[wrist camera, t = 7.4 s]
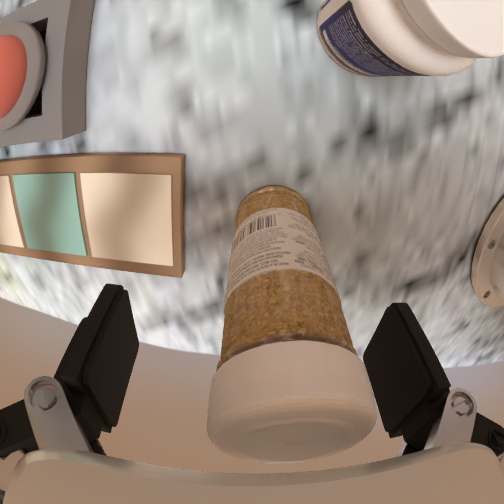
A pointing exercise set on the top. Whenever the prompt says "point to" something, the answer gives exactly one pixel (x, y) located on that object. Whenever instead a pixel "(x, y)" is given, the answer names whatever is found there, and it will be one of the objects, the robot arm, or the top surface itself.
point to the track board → (96, 210)
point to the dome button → (19, 71)
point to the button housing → (56, 70)
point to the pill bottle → (411, 35)
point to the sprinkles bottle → (285, 344)
